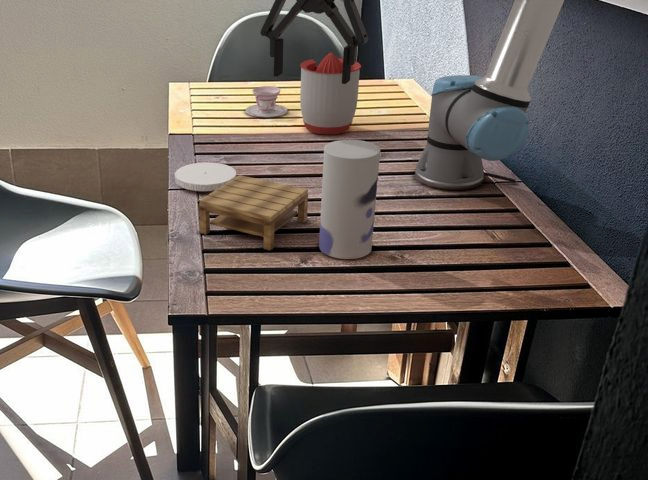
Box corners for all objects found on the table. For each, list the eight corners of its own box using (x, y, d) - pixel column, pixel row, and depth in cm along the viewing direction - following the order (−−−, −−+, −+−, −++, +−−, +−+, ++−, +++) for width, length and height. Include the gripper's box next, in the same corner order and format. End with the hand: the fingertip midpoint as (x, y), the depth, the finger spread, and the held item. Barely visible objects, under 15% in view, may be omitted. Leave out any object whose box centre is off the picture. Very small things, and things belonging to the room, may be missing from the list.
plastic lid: (240, 174, 190) (240, 163, 188) (231, 197, 178) (231, 186, 177) (182, 171, 192) (181, 161, 190) (169, 193, 180) (168, 183, 179)
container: (369, 262, 150) (379, 159, 140) (316, 257, 152) (321, 155, 142) (372, 239, 159) (381, 140, 149) (321, 235, 161) (327, 137, 150)
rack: (307, 220, 167) (308, 188, 163) (270, 250, 155) (270, 217, 151) (239, 205, 174) (239, 174, 170) (199, 233, 162) (198, 200, 159)
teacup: (260, 103, 239) (261, 82, 235) (295, 110, 233) (296, 88, 229) (237, 113, 230) (237, 91, 227) (272, 120, 224) (273, 98, 221)
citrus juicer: (344, 116, 227) (349, 43, 217) (364, 136, 212) (370, 58, 202) (290, 120, 225) (292, 45, 214) (306, 140, 210) (309, 61, 200)
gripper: (391, -43, 141) (381, 80, 152) (260, -49, 150) (258, 67, 161) (379, -37, 135) (369, 90, 146) (243, -44, 144) (243, 76, 155)
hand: (311, 78), depth 154 cm, fingers open, 13 cm apart
